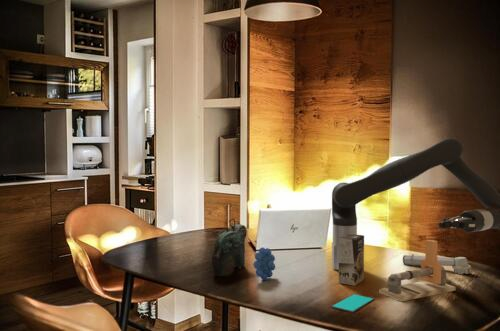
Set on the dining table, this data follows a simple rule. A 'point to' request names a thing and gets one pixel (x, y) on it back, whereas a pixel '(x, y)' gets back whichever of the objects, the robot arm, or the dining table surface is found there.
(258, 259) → the grapes
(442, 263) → the toothbrush head
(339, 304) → the smartphone
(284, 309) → the dining table surface
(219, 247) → the dark green backpack
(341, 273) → the coffee box
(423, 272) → the pipe stand
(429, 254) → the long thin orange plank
